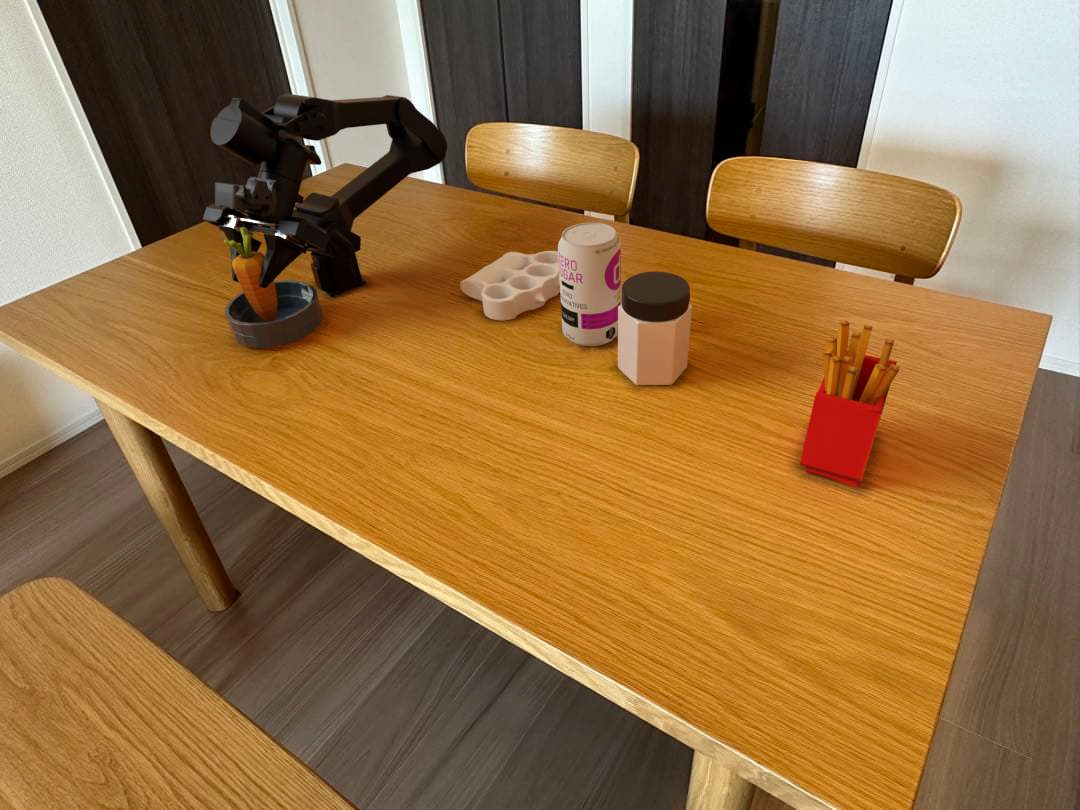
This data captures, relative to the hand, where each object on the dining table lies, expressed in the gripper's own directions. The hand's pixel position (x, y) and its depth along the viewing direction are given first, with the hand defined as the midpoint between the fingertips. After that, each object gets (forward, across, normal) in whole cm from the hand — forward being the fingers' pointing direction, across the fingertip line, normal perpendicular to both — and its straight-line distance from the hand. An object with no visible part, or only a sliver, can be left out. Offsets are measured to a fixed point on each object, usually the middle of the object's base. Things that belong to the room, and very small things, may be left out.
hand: (248, 284), depth 99 cm
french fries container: (+3, +80, +9) cm, 80 cm away
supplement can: (-6, +45, +18) cm, 49 cm away
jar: (-2, +56, +15) cm, 58 cm away
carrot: (+4, 0, +6) cm, 8 cm away
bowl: (+4, 0, +8) cm, 9 cm away
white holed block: (-11, +30, +24) cm, 40 cm away
